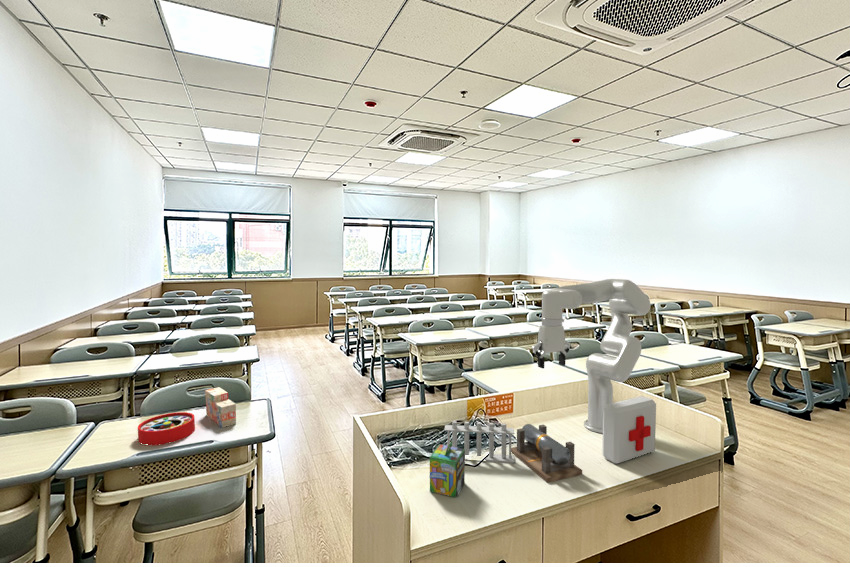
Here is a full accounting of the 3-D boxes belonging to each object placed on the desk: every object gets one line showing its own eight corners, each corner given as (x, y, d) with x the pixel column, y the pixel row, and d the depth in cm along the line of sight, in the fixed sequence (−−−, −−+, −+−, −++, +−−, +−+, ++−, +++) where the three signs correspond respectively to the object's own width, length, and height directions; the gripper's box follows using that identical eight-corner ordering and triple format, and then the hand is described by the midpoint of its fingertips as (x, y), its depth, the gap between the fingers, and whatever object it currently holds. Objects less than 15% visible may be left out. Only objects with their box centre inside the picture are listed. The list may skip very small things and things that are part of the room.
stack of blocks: (236, 424, 176) (235, 397, 176) (221, 428, 172) (220, 400, 171) (220, 411, 192) (219, 386, 191) (206, 415, 187) (204, 389, 186)
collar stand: (541, 445, 153) (541, 421, 152) (582, 474, 132) (582, 446, 131) (510, 451, 148) (510, 427, 147) (547, 482, 127) (547, 454, 127)
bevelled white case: (619, 468, 136) (620, 411, 135) (600, 457, 143) (601, 403, 142) (659, 454, 145) (661, 401, 143) (639, 445, 152) (640, 394, 151)
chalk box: (439, 477, 131) (438, 433, 131) (465, 482, 128) (465, 438, 127) (428, 492, 123) (428, 446, 122) (456, 498, 119) (456, 451, 119)
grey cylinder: (534, 437, 150) (534, 422, 150) (570, 463, 131) (570, 445, 131) (521, 441, 148) (520, 425, 148) (555, 467, 129) (554, 449, 129)
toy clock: (197, 423, 164) (138, 436, 152) (198, 436, 164) (138, 451, 152) (191, 408, 180) (137, 419, 168) (192, 421, 180) (137, 433, 168)
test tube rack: (444, 459, 143) (444, 423, 142) (445, 453, 148) (445, 418, 147) (514, 463, 140) (514, 427, 139) (513, 457, 144) (513, 422, 143)
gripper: (563, 319, 159) (563, 361, 160) (527, 322, 153) (526, 366, 154) (577, 322, 152) (576, 366, 153) (538, 325, 146) (538, 371, 147)
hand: (551, 366), depth 153 cm, fingers open, 9 cm apart
